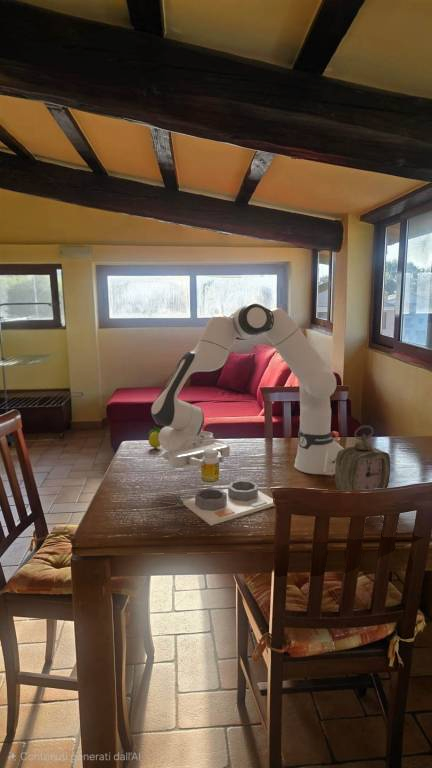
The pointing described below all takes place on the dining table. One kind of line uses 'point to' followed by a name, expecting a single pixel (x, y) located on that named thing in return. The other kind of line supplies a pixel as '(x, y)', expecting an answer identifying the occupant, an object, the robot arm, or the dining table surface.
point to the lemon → (154, 438)
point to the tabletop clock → (362, 466)
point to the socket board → (228, 502)
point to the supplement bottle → (210, 467)
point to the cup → (205, 433)
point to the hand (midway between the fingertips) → (212, 461)
